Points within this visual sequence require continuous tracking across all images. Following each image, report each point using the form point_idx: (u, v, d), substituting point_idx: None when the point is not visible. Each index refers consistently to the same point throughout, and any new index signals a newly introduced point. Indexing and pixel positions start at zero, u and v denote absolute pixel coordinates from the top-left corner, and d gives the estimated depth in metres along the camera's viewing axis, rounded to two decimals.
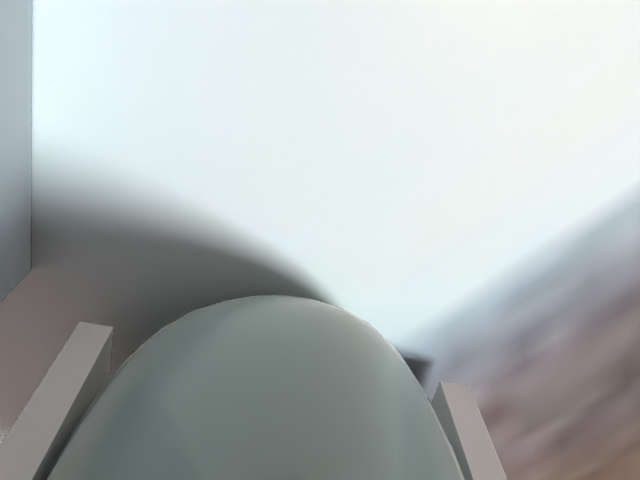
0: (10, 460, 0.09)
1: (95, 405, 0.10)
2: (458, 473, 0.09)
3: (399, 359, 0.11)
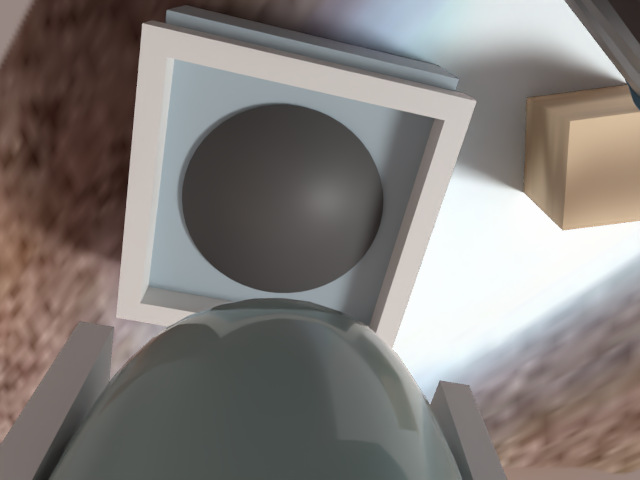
0: (10, 460, 0.09)
1: (94, 409, 0.10)
2: (457, 477, 0.09)
3: (398, 362, 0.11)
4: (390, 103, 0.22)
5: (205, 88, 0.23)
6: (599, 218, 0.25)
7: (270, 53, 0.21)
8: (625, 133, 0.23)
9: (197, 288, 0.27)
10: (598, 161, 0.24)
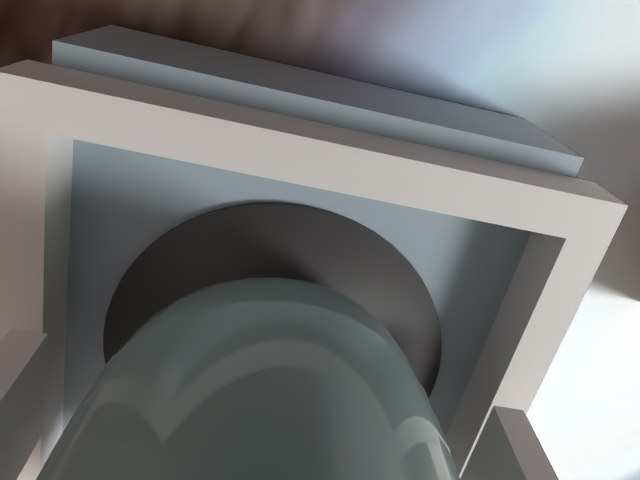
0: None
1: (101, 376, 0.10)
2: (440, 435, 0.10)
3: (387, 334, 0.12)
4: (469, 210, 0.12)
5: (132, 176, 0.13)
6: None
7: (245, 124, 0.11)
8: None
9: None
10: None
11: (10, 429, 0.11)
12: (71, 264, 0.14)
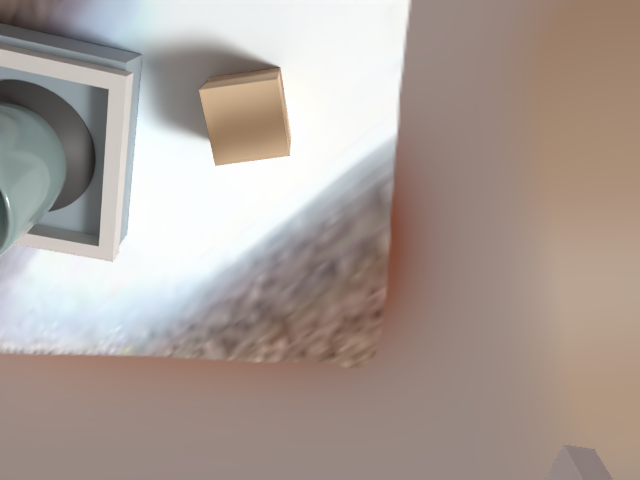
0: None
1: None
2: (31, 135, 0.32)
3: (37, 118, 0.34)
4: (70, 78, 0.34)
5: None
6: (238, 157, 0.37)
7: None
8: (238, 98, 0.35)
9: None
10: (225, 117, 0.36)
11: None
12: None
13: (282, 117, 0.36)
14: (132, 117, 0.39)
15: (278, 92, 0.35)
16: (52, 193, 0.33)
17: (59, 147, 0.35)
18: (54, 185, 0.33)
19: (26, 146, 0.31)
